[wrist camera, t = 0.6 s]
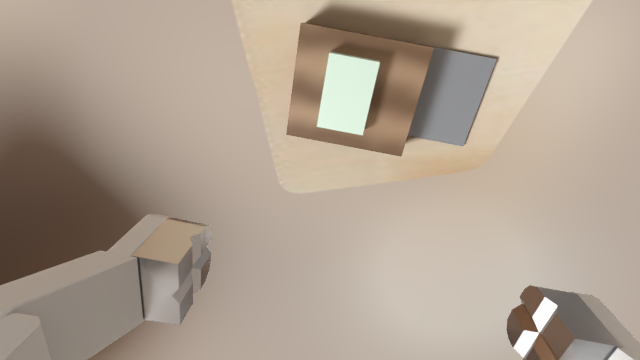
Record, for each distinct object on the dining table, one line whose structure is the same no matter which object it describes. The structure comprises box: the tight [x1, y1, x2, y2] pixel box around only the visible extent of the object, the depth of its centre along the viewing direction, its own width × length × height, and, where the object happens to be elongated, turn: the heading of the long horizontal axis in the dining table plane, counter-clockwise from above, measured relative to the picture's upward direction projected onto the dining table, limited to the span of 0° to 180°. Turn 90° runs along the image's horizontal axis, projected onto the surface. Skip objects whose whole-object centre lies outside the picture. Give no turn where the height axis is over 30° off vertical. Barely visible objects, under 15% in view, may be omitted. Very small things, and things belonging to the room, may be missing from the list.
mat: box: [408, 47, 497, 146], centre depth 45 cm, size 12×8×1 cm
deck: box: [286, 23, 434, 156], centre depth 44 cm, size 14×16×4 cm
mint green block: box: [317, 51, 380, 135], centre depth 41 cm, size 9×6×2 cm, turn 170°
